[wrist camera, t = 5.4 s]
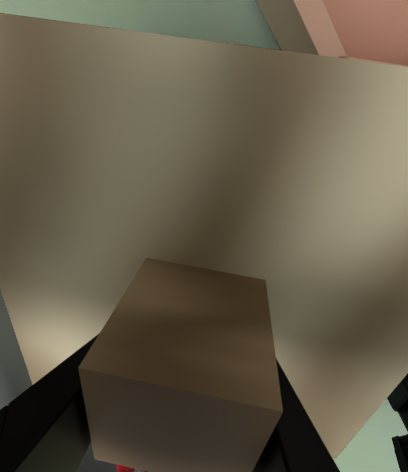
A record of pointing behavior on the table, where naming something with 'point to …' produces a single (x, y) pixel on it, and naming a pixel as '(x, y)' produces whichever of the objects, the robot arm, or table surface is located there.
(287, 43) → the bowl
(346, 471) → the table surface
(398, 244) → the lid
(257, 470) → the robot arm
